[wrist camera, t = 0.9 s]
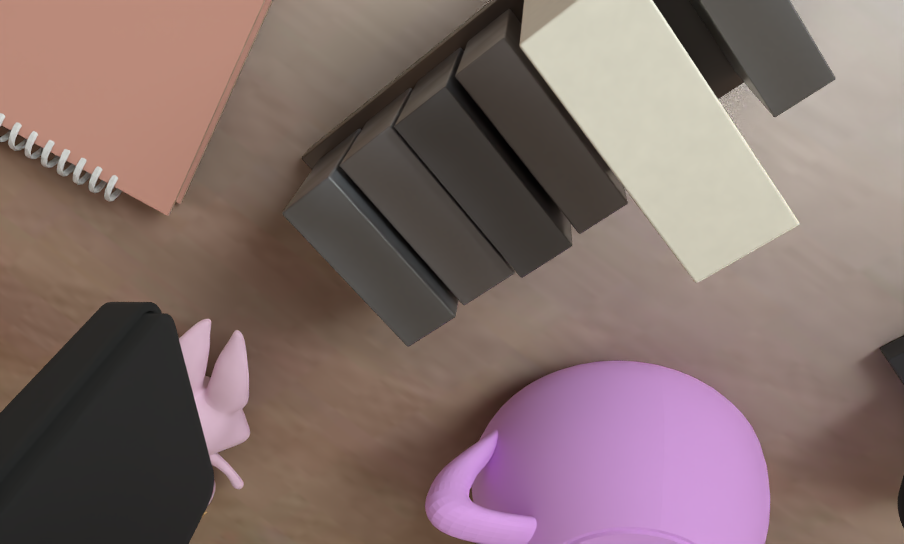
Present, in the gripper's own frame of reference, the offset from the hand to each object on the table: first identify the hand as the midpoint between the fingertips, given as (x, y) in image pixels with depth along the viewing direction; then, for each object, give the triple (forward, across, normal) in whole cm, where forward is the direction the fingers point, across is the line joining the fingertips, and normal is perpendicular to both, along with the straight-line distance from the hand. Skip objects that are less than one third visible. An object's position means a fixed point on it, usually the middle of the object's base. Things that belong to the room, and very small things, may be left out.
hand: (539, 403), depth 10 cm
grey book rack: (+23, 0, +3) cm, 23 cm away
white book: (+22, -3, 0) cm, 22 cm away
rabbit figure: (+23, +17, +19) cm, 34 cm away
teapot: (+23, -4, +22) cm, 32 cm away
